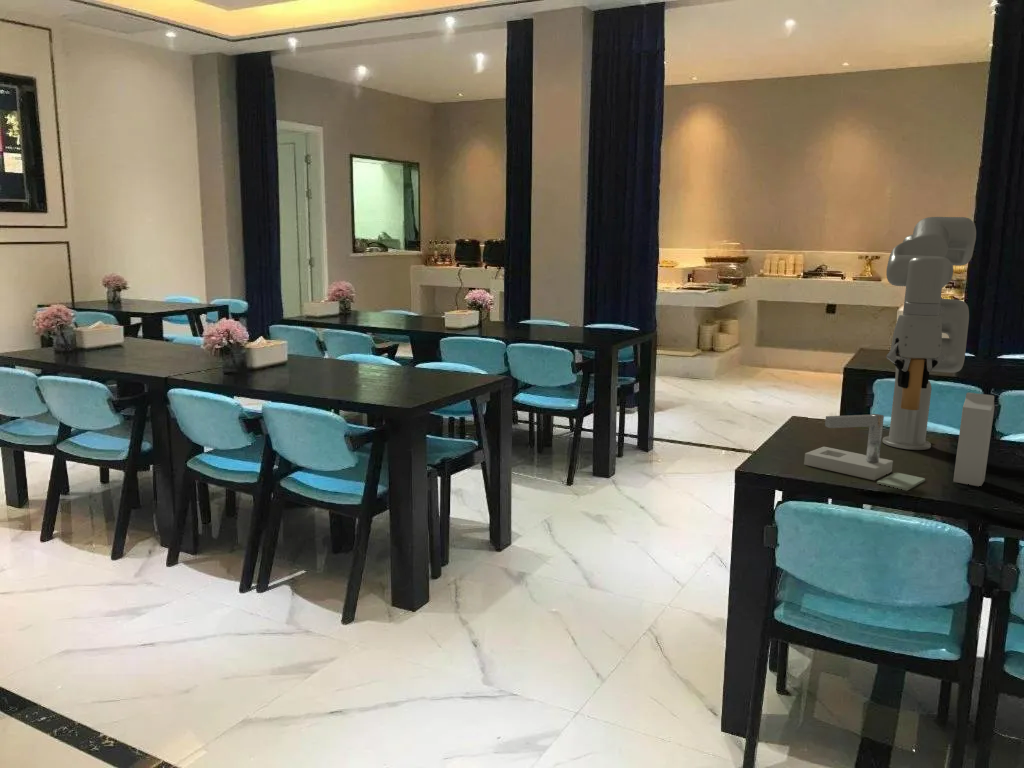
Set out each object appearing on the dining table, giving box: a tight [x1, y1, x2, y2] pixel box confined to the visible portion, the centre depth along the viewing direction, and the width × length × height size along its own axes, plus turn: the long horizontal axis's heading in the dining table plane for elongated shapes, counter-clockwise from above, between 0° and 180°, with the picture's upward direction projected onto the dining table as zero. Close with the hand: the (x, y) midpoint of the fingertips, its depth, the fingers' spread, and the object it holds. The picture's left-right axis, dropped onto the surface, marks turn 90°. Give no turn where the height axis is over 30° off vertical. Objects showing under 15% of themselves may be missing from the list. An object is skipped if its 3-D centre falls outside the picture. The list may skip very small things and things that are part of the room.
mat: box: [876, 471, 926, 492], centre depth 196 cm, size 12×7×1 cm, turn 135°
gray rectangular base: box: [803, 446, 894, 481], centre depth 207 cm, size 11×18×3 cm, turn 45°
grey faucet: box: [824, 413, 885, 462], centre depth 200 cm, size 3×16×12 cm, turn 105°
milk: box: [952, 392, 995, 487], centre depth 196 cm, size 6×6×22 cm
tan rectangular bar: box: [900, 359, 925, 410], centre depth 192 cm, size 4×4×12 cm
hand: (912, 386), depth 192 cm, fingers closed on tan rectangular bar, 4 cm apart
